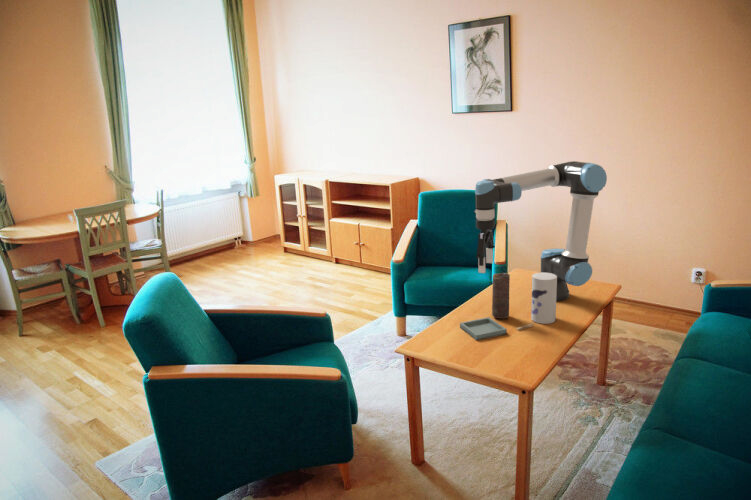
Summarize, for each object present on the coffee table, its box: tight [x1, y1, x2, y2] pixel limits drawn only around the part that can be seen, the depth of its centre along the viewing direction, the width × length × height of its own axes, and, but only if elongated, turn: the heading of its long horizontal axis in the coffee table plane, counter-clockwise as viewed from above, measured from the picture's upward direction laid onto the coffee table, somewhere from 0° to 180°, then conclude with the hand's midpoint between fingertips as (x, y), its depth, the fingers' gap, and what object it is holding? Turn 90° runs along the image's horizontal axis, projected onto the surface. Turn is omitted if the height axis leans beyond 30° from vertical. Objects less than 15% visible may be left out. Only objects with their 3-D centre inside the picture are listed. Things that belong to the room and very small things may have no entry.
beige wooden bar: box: [515, 323, 534, 331], centre depth 220 cm, size 8×1×1 cm, turn 116°
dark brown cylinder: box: [491, 272, 511, 319], centre depth 229 cm, size 8×7×20 cm
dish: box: [459, 316, 508, 341], centre depth 219 cm, size 14×14×2 cm
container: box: [530, 272, 557, 325], centre depth 225 cm, size 10×10×20 cm
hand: (485, 267), depth 222 cm, fingers open, 13 cm apart
